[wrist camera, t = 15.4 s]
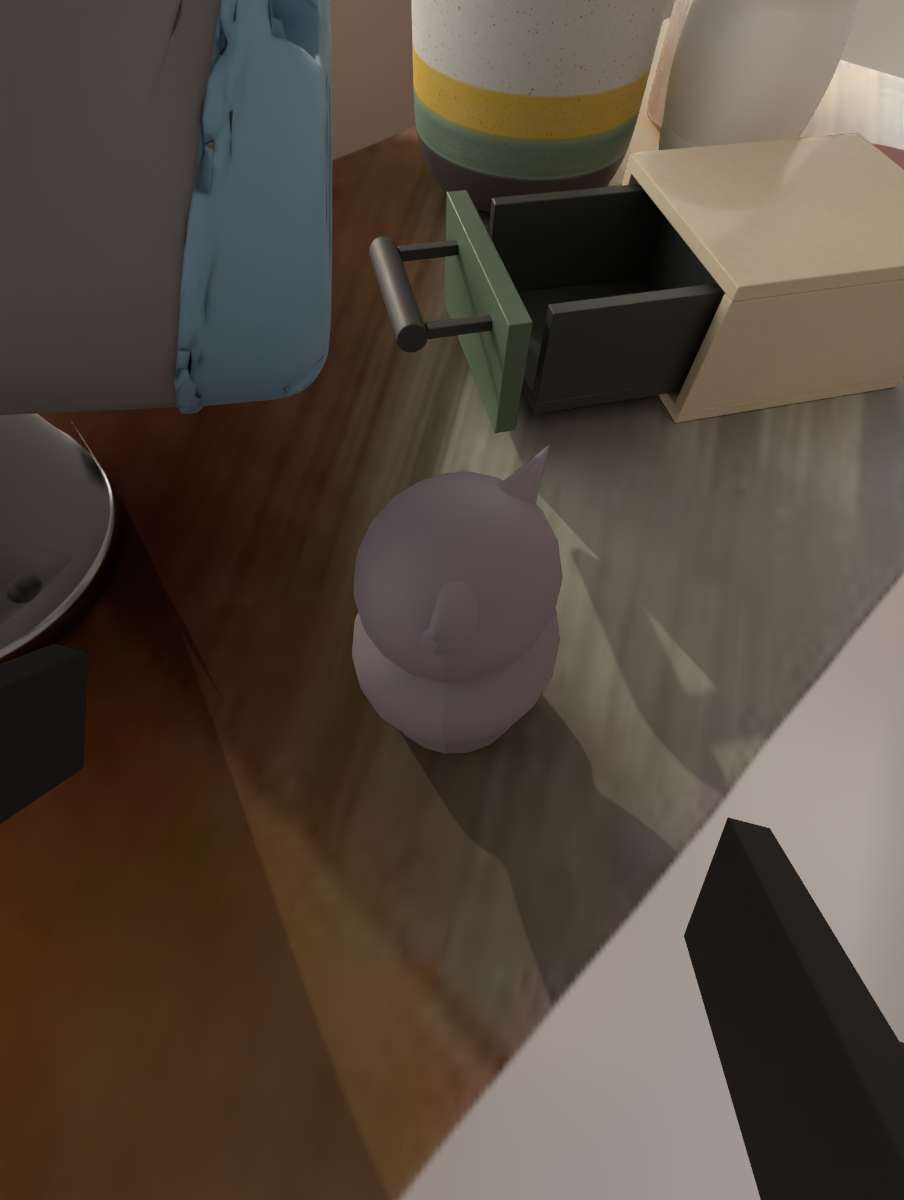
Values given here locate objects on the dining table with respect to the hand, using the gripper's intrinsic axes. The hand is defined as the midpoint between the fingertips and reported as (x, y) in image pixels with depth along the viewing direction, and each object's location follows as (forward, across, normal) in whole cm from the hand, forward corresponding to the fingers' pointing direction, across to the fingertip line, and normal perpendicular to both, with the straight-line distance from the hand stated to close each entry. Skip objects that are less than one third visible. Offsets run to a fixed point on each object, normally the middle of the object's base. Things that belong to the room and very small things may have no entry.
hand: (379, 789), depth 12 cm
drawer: (+30, 0, +13) cm, 33 cm away
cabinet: (+36, +13, +17) cm, 41 cm away
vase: (+46, -6, +28) cm, 54 cm away
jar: (+47, +9, +29) cm, 56 cm away
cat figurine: (+15, 0, -4) cm, 15 cm away
